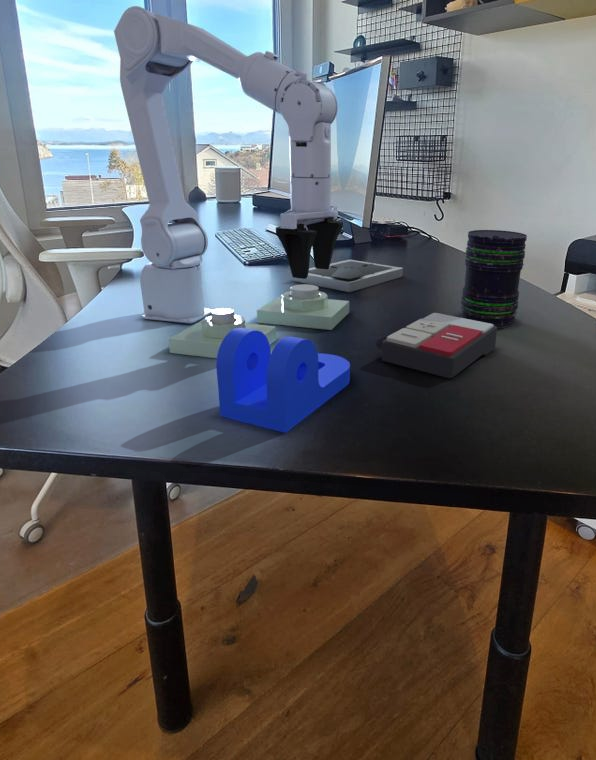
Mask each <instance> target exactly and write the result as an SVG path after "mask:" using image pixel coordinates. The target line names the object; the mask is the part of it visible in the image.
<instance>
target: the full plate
mask: <svg viewBox="0 0 596 760" xmlns="http://www.w3.org/2000/svg"><path fill="white" fill-rule="evenodd" d="M349 314H350V301H349V300H341V299H332V298H331V299H329V295H328V294H327V293H326V292H324V291H320V290H319V297H318V298H313V299H295V298H292V297H291V291H290V290H289V291H285V292H284V293H282V294H280V295H279V296H277V297H276V298H275V299H273V300H271V301H270V302H268V303H266V304H265V305H263V306H261V307H260V308H258V309H256V320H257V321H256V322H257V323H258V324H267V325H277V326H287V327H298V328H306V329H307V328H308V329H317V330H326V331H327V330H328V331H332V330H333V329H334V328H335V327H336V326H337V325H338V324H339V323H340V322H341V321H343V319H344V318H345V317H346V316H348V315H349Z"/></svg>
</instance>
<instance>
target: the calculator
mask: <svg viewBox="0 0 596 760" xmlns="http://www.w3.org/2000/svg"><path fill="white" fill-rule="evenodd" d="M497 332H498V328H497V326H494V325H493V324H490V323H485V322H480V321H475V320H470V319H465V318H460V316H453V315H449V314H443V313H439V312H432V313H430V314H429V315H427V316H425V317H423V318H419V319H417V320H416V321H414V322H412V323H410V324H408V325H406V326H405V327H403V328H401V329H399V330H397V331H395V332H393V333H391V334H389V335H388V336H386V338H385V339H383V340H382V341H381V342H382V343H381V360H382V362H385V363H389V364H393V365H396V366H400V367H404V368H408V369H411V370H414V371H415V370H416V371H419V372H424V373H427V374H431V375H434V376H439V377H442V378H446V379H453V378H455V376H457V375H458V374H459V373H461V372H462V371H463V370H464V369H466V368H467V367H469V366H470V365H471V364H473V363H474V362H475V361H477V360H478V359H479V358H481V356H484V357H486V356H487V355H489V354H490V353H492V351H494V350H495V349H496V343H497V334H498V333H497Z"/></svg>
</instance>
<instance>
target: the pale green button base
mask: <svg viewBox="0 0 596 760" xmlns="http://www.w3.org/2000/svg"><path fill="white" fill-rule="evenodd" d="M234 318H235V322H234V323H229V324H214V323H212V317H211V315H208V316H206V317H204V318H202V319H200V320H199V322H198V321H197V322H195V324H194V323H193V325H191V326H189V327H187V328H185V329H183V330H181V331H179V332H178V333H175V334H174V335H172V336H170V337H168V338H167V339H168V340H167V341H168V347H169V348H168V349H169V353H170V354H177V355H185V356H192V357H202V358H209V359H217V355H218V351H219V348H220V345H221V343H222V341H223V339H224V338H225V336H226V335H227V334H228V333H229V332H230V331H232V330H233V329H236V328H246V329H251V330H257V331H260V332H262V333H263V334H264V335H265V336H266V337H267V339H268V341H269V345H270V346H271V345H272V344H273V343H274V342H276V341H277V327H276V326H274V325H265V324H254V323H246V320H245V319H246V318H245V317H244V316H241V315H237V314H234Z"/></svg>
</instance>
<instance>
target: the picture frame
mask: <svg viewBox="0 0 596 760" xmlns="http://www.w3.org/2000/svg"><path fill="white" fill-rule="evenodd" d="M403 268H404V267H401V266H400V267H399V266H393V265H387V264H380V263H373V262H367V261H361V260H355V259H346V260H341V261H335V262H331V263H330V267H329V269H317V268H315V266H314V267H309V272H308V277H307V278H306V279H301V278H293V277H292V281H293V282H296V283H301V284H307V285H315V286H317V287H321V288H326V289H330V290H335V291H341V292H345V293H353V292H355V291H359V290H362V289H365V288H369V287H372V286H376V285H379V284H383V283H386V282H390V281H393V280H396V279H401V278H403V273H404V269H403Z"/></svg>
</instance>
